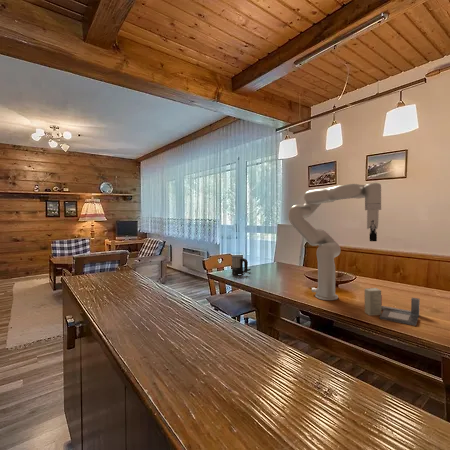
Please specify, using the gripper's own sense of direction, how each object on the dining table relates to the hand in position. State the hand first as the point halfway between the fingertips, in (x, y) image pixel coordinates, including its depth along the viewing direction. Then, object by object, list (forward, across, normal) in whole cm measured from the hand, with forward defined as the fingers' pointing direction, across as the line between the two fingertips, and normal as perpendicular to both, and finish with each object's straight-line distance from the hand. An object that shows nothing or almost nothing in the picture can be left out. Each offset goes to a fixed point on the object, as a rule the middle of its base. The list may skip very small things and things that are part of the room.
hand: (373, 240), depth 147 cm
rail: (+35, +4, +8) cm, 36 cm away
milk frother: (+34, -42, -96) cm, 110 cm away
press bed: (+35, +14, +10) cm, 39 cm away
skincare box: (+35, +12, 0) cm, 37 cm away
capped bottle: (+33, +2, +1) cm, 33 cm away
